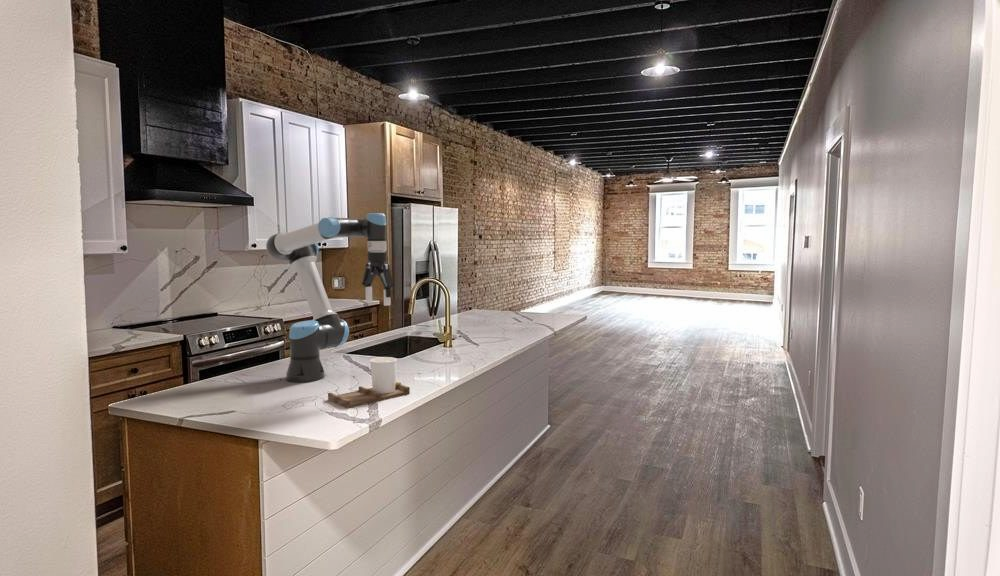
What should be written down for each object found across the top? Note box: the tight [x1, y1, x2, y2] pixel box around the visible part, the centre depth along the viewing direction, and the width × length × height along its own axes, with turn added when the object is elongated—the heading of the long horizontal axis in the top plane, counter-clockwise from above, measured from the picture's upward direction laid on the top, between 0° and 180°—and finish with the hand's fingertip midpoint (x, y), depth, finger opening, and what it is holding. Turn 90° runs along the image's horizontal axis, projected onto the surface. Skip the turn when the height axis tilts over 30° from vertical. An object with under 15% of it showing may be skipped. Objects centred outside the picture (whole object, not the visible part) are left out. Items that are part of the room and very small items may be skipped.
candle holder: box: [369, 356, 398, 394], centre depth 214 cm, size 10×10×12 cm
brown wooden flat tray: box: [327, 381, 411, 409], centre depth 210 cm, size 14×27×3 cm, turn 134°
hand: (377, 304), depth 231 cm, fingers open, 13 cm apart
